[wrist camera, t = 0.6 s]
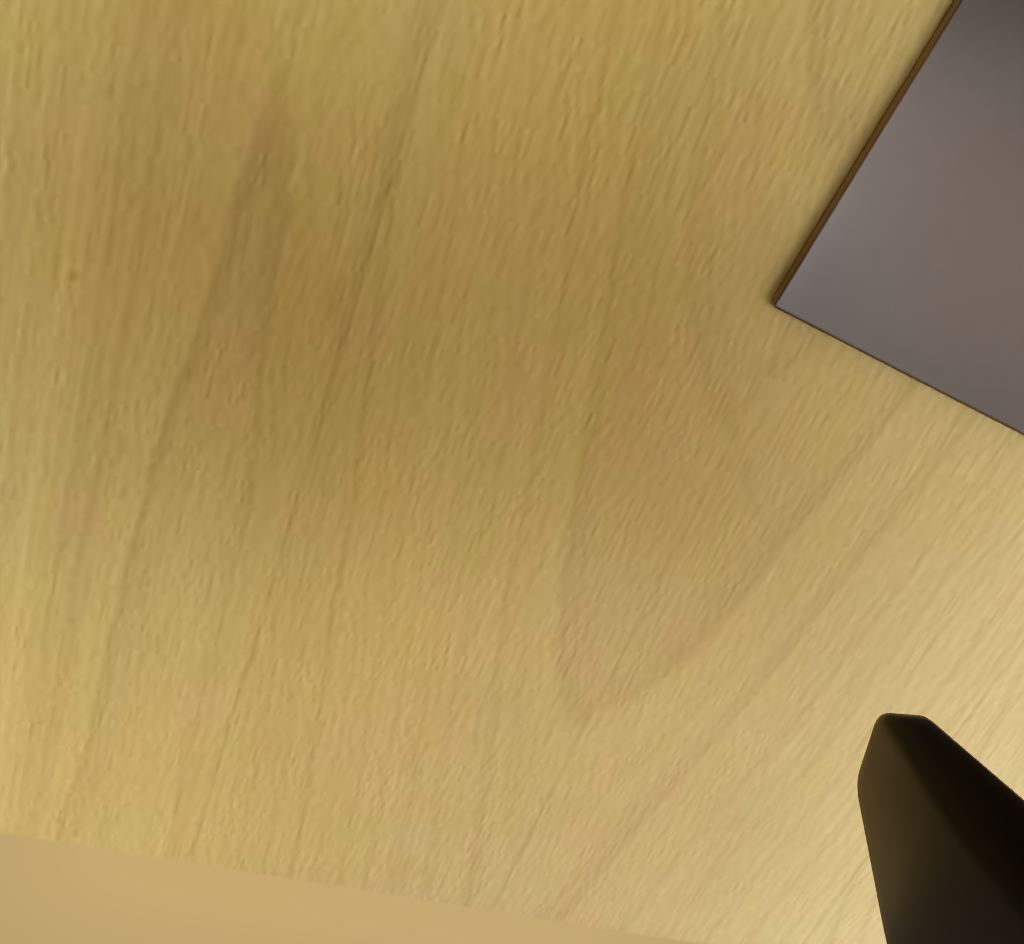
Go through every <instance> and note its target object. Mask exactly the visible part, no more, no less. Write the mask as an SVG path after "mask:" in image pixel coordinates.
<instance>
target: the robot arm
mask: <svg viewBox="0 0 1024 944" xmlns="http://www.w3.org/2000/svg"><path fill="white" fill-rule="evenodd" d="M858 798H859V804H860V809H861V814H862V819H863V824H864V830H865V835H866V840H867V845H868V850H869V856H870V861H871V866H872V871H873V876H874V881H875V887H876V892H877V897H878V902H879V907H880V912H881V918H882V923H883V928H884V933H885V937H886V942H887V944H1024V800H1023V799H1022V798H1021V797H1020V796H1018V795H1017V794H1016V793H1015V792H1014V791H1013V790H1011V789H1010V788H1009V787H1008V786H1007V785H1006V784H1004V783H1003V782H1002V781H1001V780H1000V779H999V778H997V777H996V776H995V775H994V774H993V773H992V772H991V771H989V770H988V769H987V768H986V767H985V766H984V765H982V764H981V763H980V762H979V761H978V760H977V759H975V758H974V757H973V756H972V755H971V754H970V753H968V752H967V751H966V750H965V749H964V748H963V747H961V746H960V745H959V744H958V743H957V742H956V741H954V740H953V739H952V738H951V737H950V736H949V735H947V734H946V733H945V732H944V731H943V730H942V729H940V728H939V727H938V726H937V725H936V724H935V723H933V722H932V721H931V720H929V719H928V718H926V717H924V716H920V715H909V714H895V713H886V714H883V715H881V716H880V717H879V718H878V719H877V721H876V723H875V725H874V728H873V731H872V734H871V737H870V740H869V743H868V746H867V749H866V752H865V755H864V758H863V761H862V764H861V768H860V771H859V775H858Z"/></svg>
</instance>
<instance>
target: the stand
mask: <svg viewBox="0 0 1024 944" xmlns="http://www.w3.org/2000/svg"><path fill="white" fill-rule="evenodd" d="M770 303H771V304H772V305H773V306H774V307H775V308H777V309H779V310H781V311H783V312H785V313H787V314H789V315H791V316H793V317H795V318H797V319H799V320H801V321H803V322H805V323H807V324H808V325H810V326H812V327H814V328H816V329H818V330H820V331H822V332H824V333H826V334H828V335H830V336H832V337H834V338H836V339H838V340H840V341H842V342H844V343H845V344H847V345H849V346H851V347H853V348H855V349H857V350H859V351H861V352H863V353H865V354H867V355H869V356H871V357H873V358H875V359H877V360H879V361H880V362H882V363H884V364H886V365H888V366H890V367H892V368H894V369H896V370H898V371H900V372H902V373H904V374H906V375H908V376H910V377H912V378H914V379H916V380H917V381H919V382H921V383H923V384H925V385H927V386H929V387H931V388H933V389H935V390H937V391H939V392H941V393H943V394H945V395H947V396H949V397H951V398H953V399H954V400H956V401H958V402H960V403H962V404H964V405H966V406H968V407H970V408H972V409H974V410H976V411H978V412H980V413H982V414H984V415H986V416H988V417H989V418H991V419H993V420H995V421H997V422H999V423H1001V424H1003V425H1005V426H1007V427H1009V428H1011V429H1013V430H1015V431H1017V432H1019V433H1021V434H1023V435H1024V0H955V1H954V2H953V4H952V6H951V7H950V9H949V10H948V12H947V14H946V15H945V17H944V19H943V20H942V22H941V24H940V25H939V27H938V28H937V30H936V32H935V33H934V35H933V37H932V38H931V40H930V42H929V43H928V45H927V46H926V48H925V50H924V51H923V53H922V55H921V56H920V58H919V60H918V61H917V63H916V64H915V66H914V68H913V69H912V71H911V73H910V74H909V76H908V77H907V79H906V81H905V82H904V84H903V86H902V87H901V89H900V91H899V92H898V94H897V95H896V97H895V99H894V100H893V102H892V104H891V105H890V107H889V109H888V110H887V112H886V113H885V115H884V117H883V118H882V120H881V122H880V123H879V125H878V127H877V128H876V130H875V131H874V133H873V135H872V136H871V138H870V140H869V141H868V143H867V145H866V146H865V148H864V149H863V151H862V153H861V154H860V156H859V158H858V159H857V161H856V162H855V164H854V166H853V167H852V169H851V171H850V172H849V174H848V176H847V177H846V179H845V180H844V182H843V184H842V185H841V187H840V189H839V190H838V192H837V194H836V195H835V197H834V198H833V200H832V202H831V203H830V205H829V207H828V208H827V210H826V212H825V213H824V215H823V216H822V218H821V220H820V221H819V223H818V225H817V226H816V228H815V230H814V231H813V233H812V234H811V236H810V238H809V239H808V241H807V243H806V244H805V246H804V247H803V249H802V251H801V252H800V254H799V256H798V257H797V259H796V261H795V262H794V264H793V265H792V267H791V269H790V270H789V272H788V274H787V275H786V277H785V279H784V280H783V282H782V283H781V285H780V287H779V288H778V290H777V292H776V293H775V295H774V297H773V298H772V300H771V302H770Z"/></svg>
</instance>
